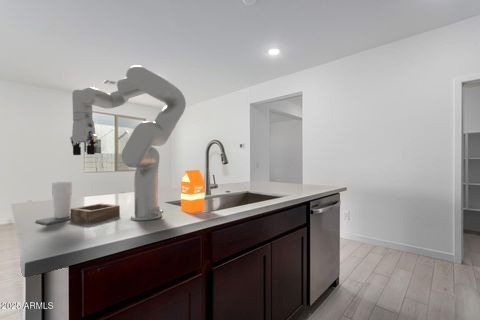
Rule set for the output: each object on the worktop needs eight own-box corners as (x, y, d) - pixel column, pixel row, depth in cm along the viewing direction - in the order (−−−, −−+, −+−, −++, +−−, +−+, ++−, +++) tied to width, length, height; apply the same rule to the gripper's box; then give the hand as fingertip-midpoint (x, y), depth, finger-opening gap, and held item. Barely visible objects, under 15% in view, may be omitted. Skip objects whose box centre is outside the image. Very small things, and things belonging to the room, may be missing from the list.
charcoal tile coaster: (84, 216, 103) (84, 215, 103) (47, 225, 91) (47, 223, 91) (72, 214, 107) (72, 213, 107) (35, 222, 94) (35, 220, 94)
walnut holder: (119, 216, 103) (119, 205, 103) (89, 224, 91) (89, 211, 91) (101, 214, 108) (100, 203, 108) (70, 220, 97) (70, 208, 97)
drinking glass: (60, 219, 95) (60, 183, 95) (47, 219, 97) (47, 183, 97) (75, 215, 102) (75, 181, 102) (63, 215, 103) (63, 181, 103)
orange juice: (180, 210, 115) (180, 170, 115) (195, 207, 121) (194, 169, 121) (190, 212, 110) (190, 170, 109) (204, 209, 116) (204, 170, 116)
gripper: (103, 117, 107) (104, 154, 107) (79, 120, 114) (80, 155, 114) (87, 114, 100) (88, 154, 100) (62, 118, 107) (63, 155, 107)
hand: (83, 154), depth 107 cm, fingers open, 9 cm apart
